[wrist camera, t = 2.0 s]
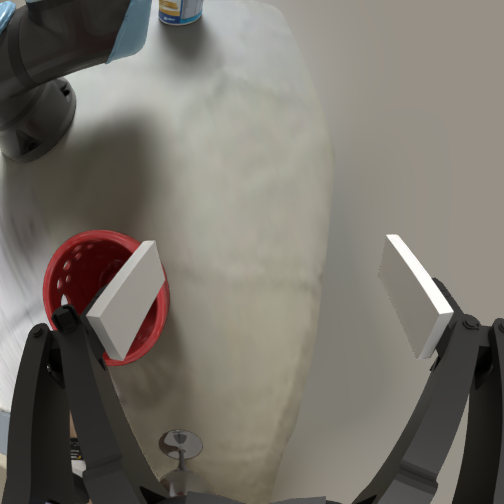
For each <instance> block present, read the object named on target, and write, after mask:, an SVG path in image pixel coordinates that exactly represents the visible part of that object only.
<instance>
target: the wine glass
mask: <svg viewBox="0 0 504 504" xmlns="http://www.w3.org/2000/svg"><path fill="white" fill-rule="evenodd" d="M159 447H160V449H161V451H162V452H163V453H164V454H165V455H167V456H168V457H170V458H173V459H177V460H179V464H178V467H177V469H175V470H173V471H170V472H168V473H167V474H165V475H164V476H163V477H162V478H161V479H160V481H159V482H160V483H161V484H162V485H163V487H164V488H165V489H166V490H167V492H168V493H169V495H170V496H171V497H175V496H181V495H187V492H188V491H192V492H198V493H204V494H211V495H216V494H215V492H214V490H213V488H212V486H211V485H210V483H209V482H208V481H207V479H206V478H205V477H203V476H202V475H200V474H199V473H197V472H194V471H192V470H190V469H189V468H188V467H187V465H186V462H185V460H188V459H192V458H194V457H196V456H198V455H199V454H200V453H201V451H202V448H203V444H202V441H201V440H200V438H199V437H198V436H196V435H195V434H193V433H191V432H189V431H184V430H173V431H169V432H167V433H165V434H163V435H162V436H161V438H160V440H159Z"/></svg>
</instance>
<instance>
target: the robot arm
mask: <svg viewBox="0 0 504 504" xmlns="http://www.w3.org/2000/svg"><path fill="white" fill-rule="evenodd" d="M25 1H26V5H24V6H22V7H20V8H18V9H16V4H15V3H12V2H11V1H6V2H2V3H1V4H0V149H1V151H2V152H3V153H4V154H5V155H6V156H7V157H9V158H10V159H12V160H14V161H16V162H29V161H32V160H34V159H37V158H39V157H40V156H42V155H43V154H45V153H46V152H47V151H49V150H50V149H51V148H52V147H53V146H54V145H55V144H56V143H57V142H58V141H59V140H60V138H61V137H62V136H63V134H64V133H65V131H66V130H67V128H68V126H69V125H70V123H71V120H72V118H73V115H74V112H75V107H76V96H75V93H74V90H73V89H72V87H71V85H70V83H69V82H68V81H67V80H66V79H65V78H64V77H62V76H65V75H68V74H71V73H74V72H76V71H79V70H83V69H86V68H89V67H92V66H95V65H99V64H102V63H105V64H108V63H110V62H111V61H113V60H117V59H120V58H124V57H127V56H131V55H134V54H136V53H137V52H138V51H139V50H141V49H142V47H143V46H144V44H145V41H146V36H147V30H148V24H149V17H150V10H151V3H152V0H25ZM378 276H379V278H380V280H381V282H382V284H383V286H384V288H385V290H386V292H387V294H388V296H389V298H390V300H391V303H392V304H393V307H394V309H395V311H396V313H397V315H398V317H399V319H400V322H401V324H402V326H403V328H404V331H405V333H406V335H407V338H408V340H409V342H410V345H411V347H412V349H413V352H414V354H415V357H416V359H417V360H421V359H426V358H431V356H432V354H433V352H434V351H435V349H436V350H437V352H438V357H437V358H436V360H435V362H434V364H433V365H432V367H431V369H430V371H431V374H430V376H429V378H428V381H427V383H426V386H425V388H424V390H423V393H422V395H421V397H420V399H419V401H418V403H417V406H416V407H415V410H414V412H413V414H412V416H411V418H410V419H409V421H408V424H407V425H406V427H405V429H404V431H403V433H402V434H401V436H400V438H399V440H398V441H397V443H396V445H395V446H394V448H393V450H392V451H391V453H390V455H389V456H388V458H387V459H386V461H385V463H384V464H383V465H382V467H381V469H380V470H379V471H378V473H377V474H376V476H375V477H374V478H373V480H372V481H371V482H370V484H369V485H368V486H367V487H366V488H365V489H364V490H363V491H362V492H361V493H360V494H359V496H358V497H357V498H356V499H355V500H354V501H353V502H352V504H430V502H431V501H432V498H433V497H434V495H435V493H436V491H437V488H438V483H437V482H436V478H437V476H438V473H439V471H440V469H441V467H442V465H443V463H444V461H445V459H446V456H447V454H448V452H449V449H450V447H451V445H452V442H453V440H454V437H455V435H456V432H457V429H458V426H459V423H460V421H461V417H462V415H463V412H464V408H465V405H466V402H467V398H468V395H469V394H470V395H469V413H468V424H467V433H466V441H465V447H464V454H463V459H462V465H461V470H460V474H459V479H458V483H457V486H456V490H455V494H454V497H453V501H452V504H504V319H502V318H498V319H496V320H495V321H494V323H493V325H492V326H491V327H490V326H482V325H481V324H480V322H479V321H478V320H477V319H476V318H475V317H473V316H472V315H468V314H464V313H463V312H462V310H461V309H460V307H459V306H458V305H457V303H456V301H455V300H454V298H453V297H451V294H450V293H449V292H448V290H447V289H446V287H445V286H444V285H443V283H442V282H440V281H439V280H438V279H436V278H430V276H429V275H428V273H427V272H426V271H425V269H424V268H423V267H422V265H421V264H420V263H419V262H418V260H417V259H416V257H415V256H414V255H413V254H412V252H411V251H410V250H409V248H408V247H407V246H406V245H405V243H404V242H403V241H402V240H401V239H400V237H399V236H398V235H386V236H385V243H384V248H383V254H382V259H381V265H380V269H379V274H378ZM164 281H165V276H164V273H163V269H162V265H161V262H160V258H159V254H158V250H157V246H156V242H155V240H153V241H143V243H142V244H141V245H140V246H139V247H138V248H137V250H136V251H135V252H134V253H133V255H132V256H131V257H130V258H129V259H128V261H127V262H126V263H125V264H124V266H123V267H122V268H121V269H120V271H119V272H118V273H117V274H116V276H115V277H114V278H113V280H112V281H111V282H110V283H109V284H106V285H105V286H103V287H102V288H101V289H100V290H99V291H98V292H97V293H96V295H95V297H93V299H92V300H91V302H90V303H89V304H88V305H87V307H86V308H85V309H84V311H83V312H82V313H81V315H80V316H79V315H78V313H77V311H76V309H75V307H74V306H73V305H71V304H66V305H62V306H61V307H59V308H57V309H56V310H55V311H54V312H53V314H52V316H51V320H52V321H53V323H54V325H55V326H56V328H57V330H54V331H50V329H49V327H48V326H47V324H45V323H40V324H37V325H35V326H34V327H33V328H32V329H31V330H30V332H29V334H28V337H27V341H26V344H25V347H24V351H23V355H22V358H21V362H20V366H19V370H18V375H17V379H16V384H15V389H14V394H13V400H12V406H11V413H10V421H9V430H8V442H7V479H6V484H5V488H4V493H3V498H2V504H76V496H75V488H74V481H73V472H72V461H71V446H70V412H71V416H72V420H73V424H74V428H75V432H76V435H77V439H78V442H79V446H80V449H81V452H82V455H83V458H84V461H85V464H86V470H84V471H83V472H82V478H83V482H84V484H85V487H86V489H87V492H88V494H89V497H90V499H91V501H92V504H245V503H242V502H238V501H235V500H232V499H229V498H226V497H223V496H219V495H211V494H204V493H198V492H192V491H188V492H187V495H181V496H175V497H171V496H170V495H169V493H168V492H167V490H166V489H165V488H164V487H163V485H162V484H161V483H160V482H159V481H158V480H157V479H156V477H155V476H154V474H153V472H152V470H151V469H150V467H149V465H148V463H147V461H146V459H145V457H144V455H143V454H142V452H141V450H140V448H139V446H138V443H137V441H136V439H135V437H134V435H133V433H132V431H131V428H130V426H129V424H128V422H127V419H126V417H125V415H124V412H123V410H122V407H121V405H120V402H119V400H118V397H117V394H116V392H115V389H114V386H113V383H112V380H111V378H110V375H109V372H108V369H107V365H106V362H105V360H104V358H103V357H102V356H103V354H104V352H105V351H106V352H107V354H108V356H109V357H110V359H115V360H120V361H124V358H125V356H126V354H127V352H128V350H129V348H130V346H131V344H132V342H133V340H134V338H135V336H136V334H137V332H138V330H139V328H140V326H141V324H142V322H143V320H144V318H145V317H146V315H147V313H148V311H149V309H150V307H151V305H152V303H153V301H154V300H155V298H156V296H157V294H158V292H159V290H160V288H161V287H162V285H163V283H164ZM47 366H48V368H47ZM270 504H341V503H338V502H334V501H328V500H326V497H325V496H324V497H314V498H296V499H289V500H284V501H279V502H275V503H270Z"/></svg>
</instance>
